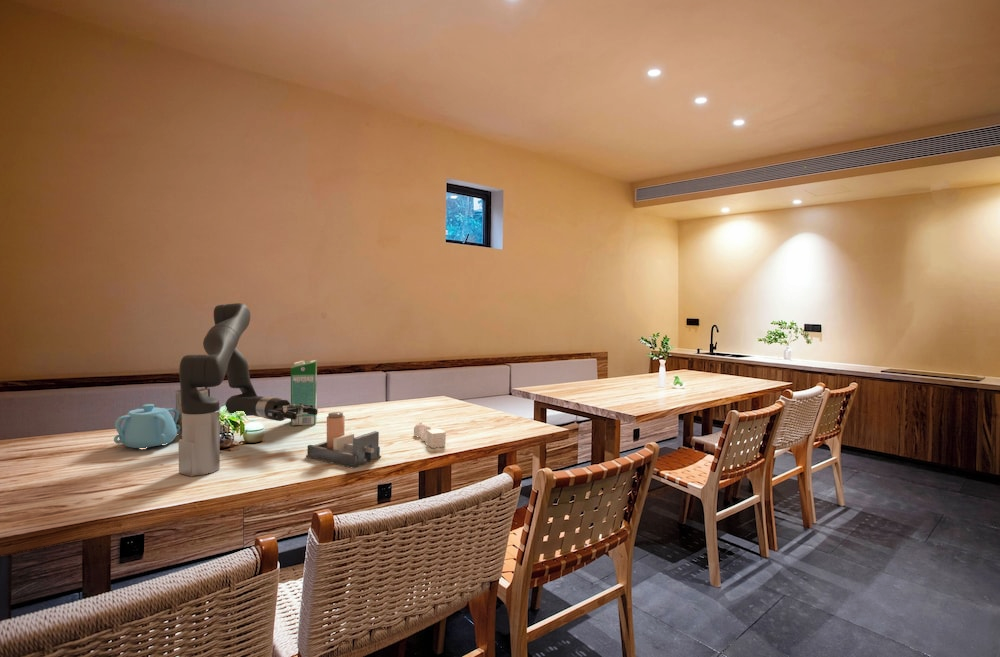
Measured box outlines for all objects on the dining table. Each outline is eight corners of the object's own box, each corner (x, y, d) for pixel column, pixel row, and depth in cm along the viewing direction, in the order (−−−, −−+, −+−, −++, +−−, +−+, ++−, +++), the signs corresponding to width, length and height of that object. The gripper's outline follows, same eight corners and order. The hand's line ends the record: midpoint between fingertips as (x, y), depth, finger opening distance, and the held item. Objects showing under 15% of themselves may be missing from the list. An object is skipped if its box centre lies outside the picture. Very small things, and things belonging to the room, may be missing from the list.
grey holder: (353, 468, 148) (354, 439, 148) (305, 457, 158) (306, 430, 157) (380, 457, 159) (381, 431, 159) (334, 447, 168) (334, 422, 168)
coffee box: (211, 431, 184) (211, 388, 183) (199, 436, 177) (198, 391, 176) (188, 430, 185) (187, 387, 184) (175, 435, 178) (174, 390, 177)
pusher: (364, 464, 150) (364, 444, 149) (333, 457, 155) (333, 438, 155) (380, 457, 156) (380, 438, 156) (350, 451, 162) (350, 433, 162)
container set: (445, 447, 172) (446, 431, 172) (431, 449, 170) (431, 433, 169) (424, 433, 190) (424, 419, 189) (411, 435, 187) (411, 420, 187)
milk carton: (292, 420, 203) (293, 359, 202) (316, 419, 206) (316, 359, 205) (290, 426, 195) (290, 362, 193) (315, 424, 197) (315, 361, 196)
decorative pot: (187, 438, 175) (187, 399, 174) (162, 452, 159) (162, 409, 158) (136, 439, 173) (136, 399, 172) (106, 452, 157) (105, 409, 156)
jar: (335, 457, 156) (335, 416, 155) (322, 454, 159) (322, 414, 158) (348, 452, 161) (348, 413, 160) (335, 450, 164) (335, 411, 163)
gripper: (254, 400, 166) (288, 405, 158) (290, 394, 179) (323, 399, 171) (254, 423, 166) (288, 429, 159) (290, 415, 179) (323, 421, 171)
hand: (306, 413), depth 165 cm, fingers open, 8 cm apart
